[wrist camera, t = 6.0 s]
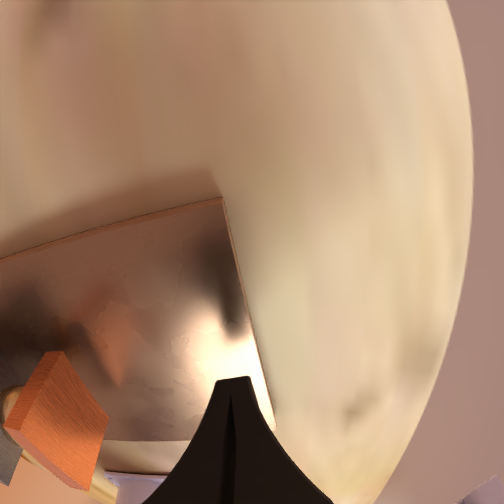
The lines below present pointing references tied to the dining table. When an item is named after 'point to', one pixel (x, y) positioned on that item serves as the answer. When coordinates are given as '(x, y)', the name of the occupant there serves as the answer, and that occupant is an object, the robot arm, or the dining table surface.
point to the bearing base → (134, 320)
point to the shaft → (55, 420)
